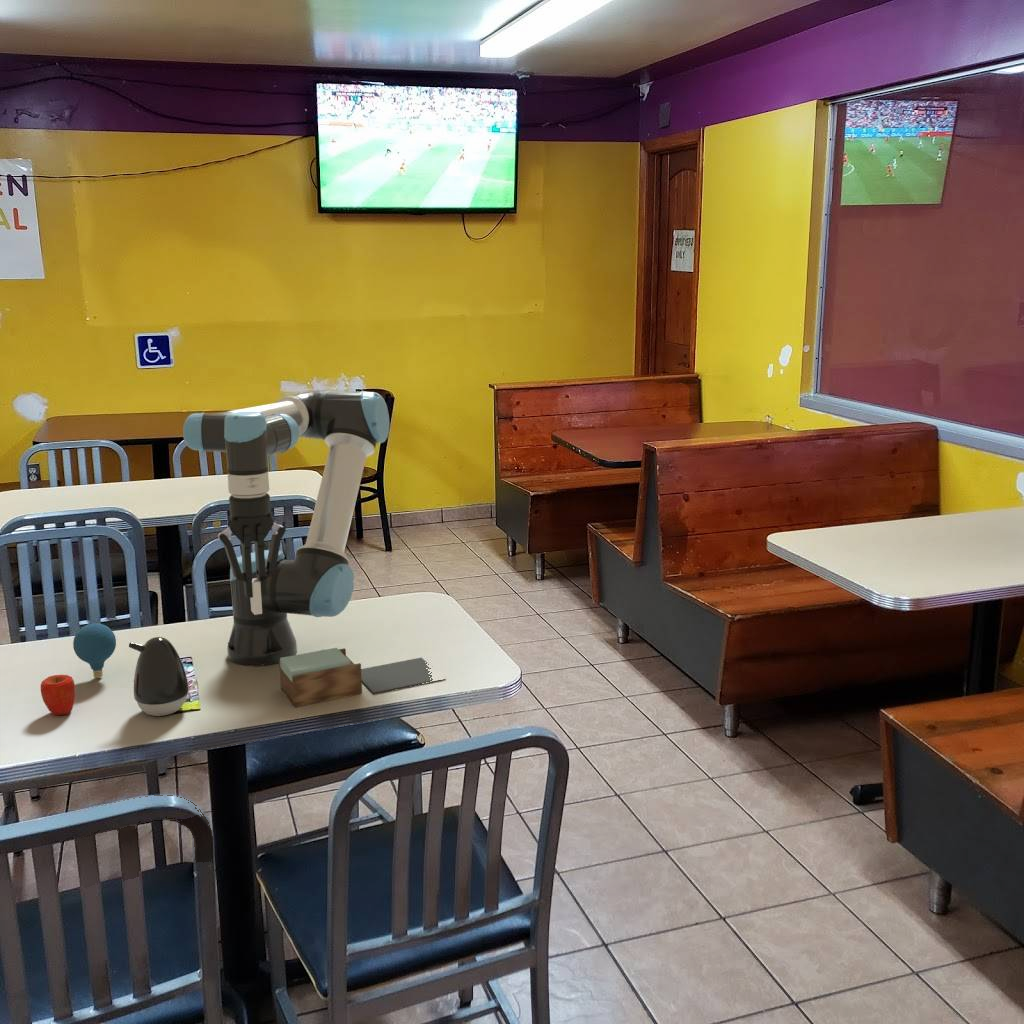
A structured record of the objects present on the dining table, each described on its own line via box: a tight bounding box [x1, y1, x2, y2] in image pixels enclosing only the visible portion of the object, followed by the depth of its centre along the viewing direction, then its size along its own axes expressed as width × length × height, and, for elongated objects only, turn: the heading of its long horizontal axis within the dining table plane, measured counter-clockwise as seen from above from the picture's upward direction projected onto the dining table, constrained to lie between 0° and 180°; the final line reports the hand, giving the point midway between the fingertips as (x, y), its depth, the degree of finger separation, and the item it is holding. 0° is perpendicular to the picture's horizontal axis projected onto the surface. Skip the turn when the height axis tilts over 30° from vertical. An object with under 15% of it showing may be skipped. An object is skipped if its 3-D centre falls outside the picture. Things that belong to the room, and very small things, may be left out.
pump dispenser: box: [128, 636, 190, 717], centre depth 199 cm, size 10×10×15 cm
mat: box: [361, 657, 433, 695], centre depth 217 cm, size 16×13×1 cm
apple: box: [40, 674, 76, 716], centre depth 199 cm, size 6×6×8 cm
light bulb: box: [72, 622, 117, 679], centre depth 215 cm, size 8×8×12 cm
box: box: [278, 648, 363, 708], centre depth 209 cm, size 14×10×6 cm
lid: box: [280, 647, 351, 682], centre depth 208 cm, size 12×8×2 cm
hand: (256, 612), depth 199 cm, fingers closed
